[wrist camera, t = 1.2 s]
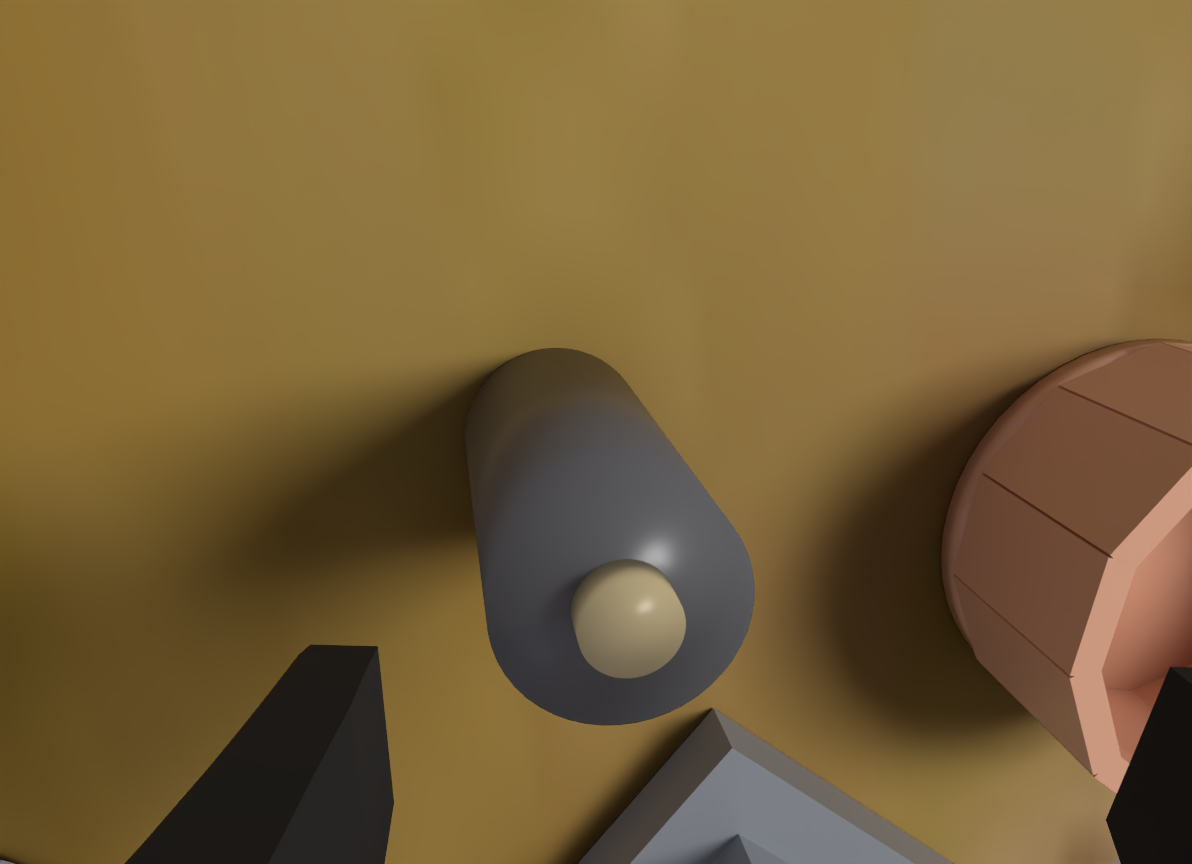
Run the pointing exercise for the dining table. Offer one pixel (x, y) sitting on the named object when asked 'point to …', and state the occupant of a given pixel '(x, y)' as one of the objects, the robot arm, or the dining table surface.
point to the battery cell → (597, 545)
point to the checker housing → (748, 812)
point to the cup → (1082, 546)
